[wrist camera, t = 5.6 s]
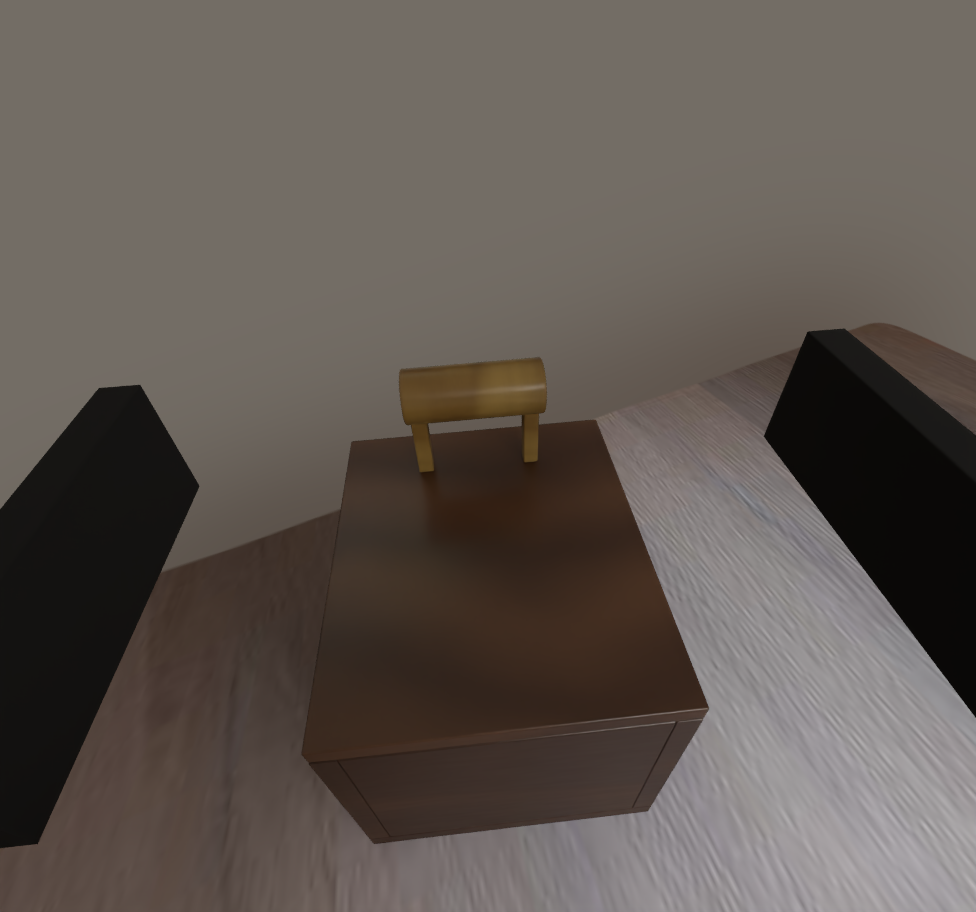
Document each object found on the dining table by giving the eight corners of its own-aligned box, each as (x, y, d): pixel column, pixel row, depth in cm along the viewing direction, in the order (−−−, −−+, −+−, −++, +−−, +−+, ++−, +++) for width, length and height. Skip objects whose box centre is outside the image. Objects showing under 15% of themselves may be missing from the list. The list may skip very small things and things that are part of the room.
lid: (354, 452, 27) (324, 349, 23) (594, 430, 28) (607, 325, 24) (307, 763, 16) (234, 674, 12) (704, 719, 17) (765, 618, 13)
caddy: (389, 586, 34) (352, 466, 27) (582, 567, 34) (599, 443, 27) (373, 844, 24) (307, 764, 16) (648, 811, 24) (704, 719, 17)
